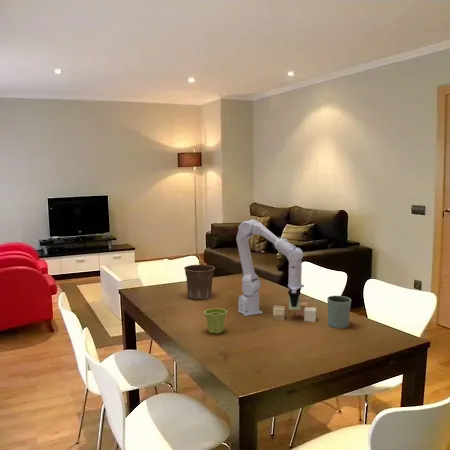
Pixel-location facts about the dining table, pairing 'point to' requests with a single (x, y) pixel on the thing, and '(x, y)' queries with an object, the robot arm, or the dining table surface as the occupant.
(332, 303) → the blue-grey tapered cup
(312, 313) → the offwhite block
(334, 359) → the dining table surface
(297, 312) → the terracotta block
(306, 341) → the dining table surface
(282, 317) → the maple block
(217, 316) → the plant pot
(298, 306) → the sage block
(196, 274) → the plant pot
